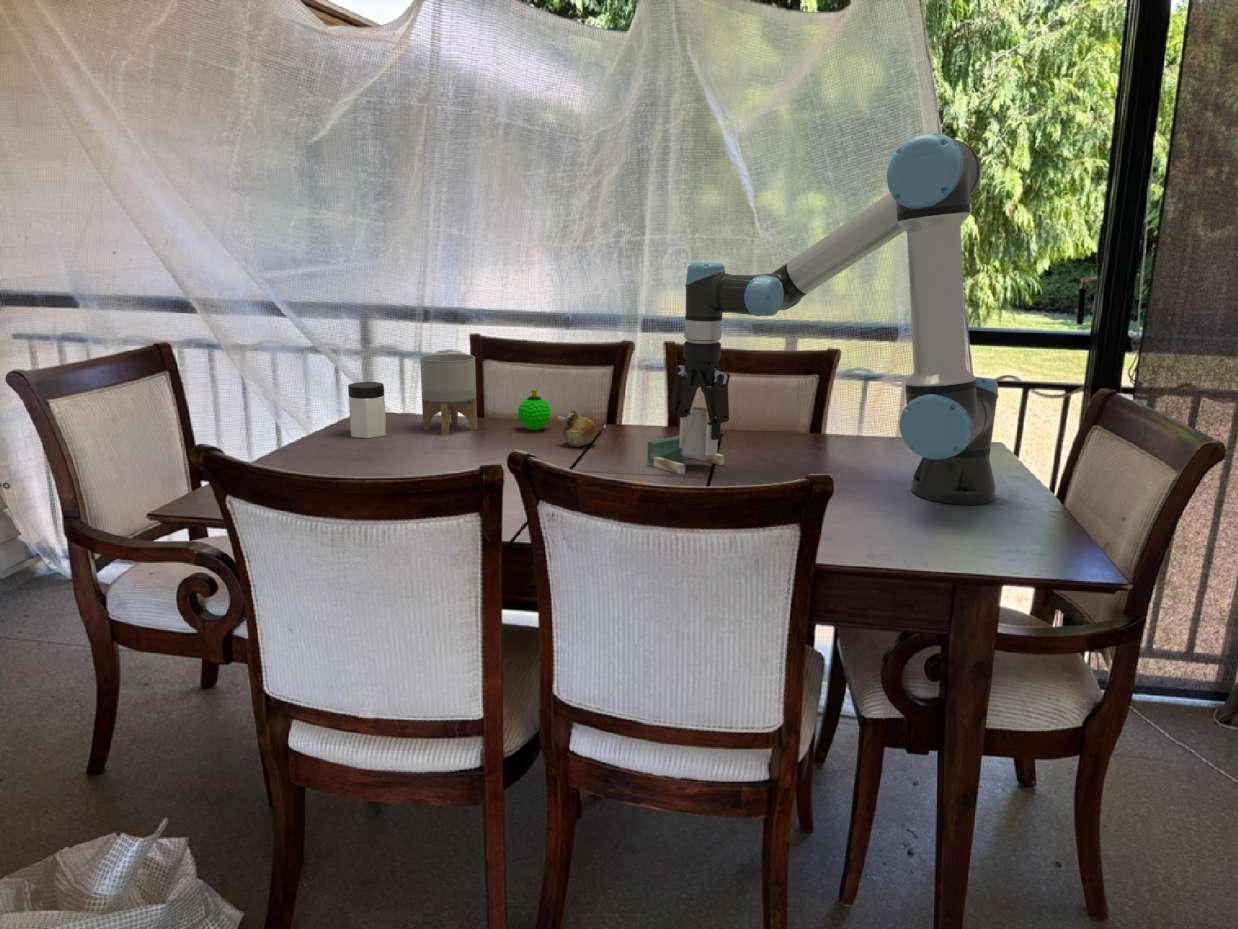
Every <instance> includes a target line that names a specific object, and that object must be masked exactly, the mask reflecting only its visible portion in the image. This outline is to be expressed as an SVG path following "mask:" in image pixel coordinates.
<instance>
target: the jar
mask: <svg viewBox="0 0 1238 929" xmlns="http://www.w3.org/2000/svg"><path fill="white" fill-rule="evenodd" d="M347 392H348V394H347V395H348V409H349V410H348V411H349V425H350V437H351V438H361V439H374V438H380V437H385V436H386V435H387V434H386V433H387V425H386V422H387V420H386V419H387V417H386V414H387V413H386V405H385V404H386V403H385V385H384V383H382V382H378V381H361V382H359V381H358V382H352V383H349V384H348V385H347Z"/></svg>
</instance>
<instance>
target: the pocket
mask: <svg viewBox="0 0 1238 929" xmlns="http://www.w3.org/2000/svg"><path fill="white" fill-rule="evenodd" d="M679 441H680V435H676V436H670V437H665V438H660V439H656V440H649V441H647V466H648V465H649V466H651V467H653V468H658V469H660V470H664V471H667V472H671V473H673V474H677V475H685V474H686V473H685V472H686V464H685V463H681V462H680V461H685V460H689V459H691V458H690V457H684V456H683V455H682V454H681V451H682V448H679ZM695 459H696V460H699V461H703V462H706V463H711V464H714V465H717V466H724V465H725V455H724V454H720V453H717V454H715V456H713V457H711V458H695Z"/></svg>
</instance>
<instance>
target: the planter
mask: <svg viewBox="0 0 1238 929" xmlns="http://www.w3.org/2000/svg"><path fill="white" fill-rule="evenodd" d="M419 358H420V359H419V360H420V361H419V362H420V364H419V366H420V383H421V384H420V385H421V405H422V429H423V430H424V431H426V430H430V429H431V427H430V426H431V422H432V420H433V418H434V416H435V415H437V414H439V413H440V422H441V426H440V427H441V436H442V437H443V436H447V437H448V436H449V435H450V424H451V425H452V426H458V425H459V414H461V415H462V416H464V418H466V420H467V422H468V423H469V426H470V431H476V432H477V430H478V413H477V412H478V411H477V409H478V408H477V384H476V381H477V378H476V377H477V376H476V356H474V355H473V354H466V353H454V352H453V353H449V352H447V353H434V354H433V353H432V354H426V355H422V356H421V357H419Z"/></svg>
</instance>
